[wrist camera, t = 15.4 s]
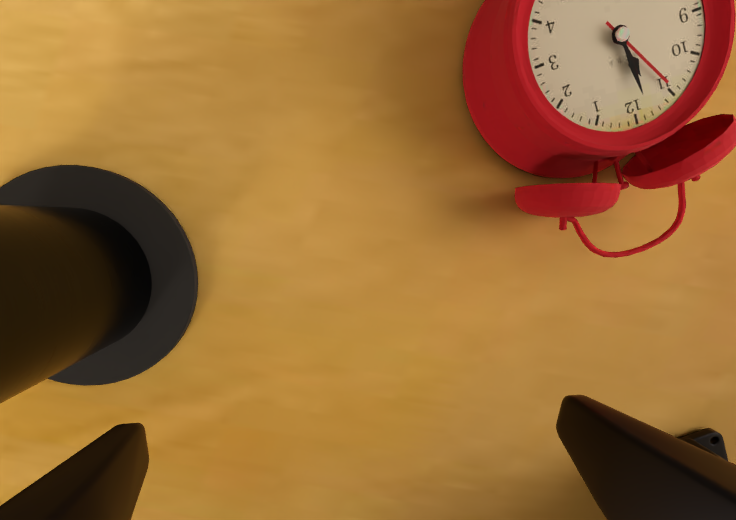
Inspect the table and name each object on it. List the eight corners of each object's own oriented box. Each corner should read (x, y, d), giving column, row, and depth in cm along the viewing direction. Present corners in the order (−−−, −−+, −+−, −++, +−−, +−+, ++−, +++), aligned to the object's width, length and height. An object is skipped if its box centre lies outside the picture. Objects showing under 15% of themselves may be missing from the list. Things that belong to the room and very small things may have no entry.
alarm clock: (703, -183, 13) (898, 180, 12) (599, -31, 20) (719, 218, 18) (444, -89, 13) (609, 287, 12) (423, 33, 19) (529, 289, 18)
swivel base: (231, 340, 19) (229, 342, 18) (32, 411, 18) (24, 415, 18) (144, 134, 17) (140, 132, 17) (-72, 210, 17) (-82, 210, 17)
